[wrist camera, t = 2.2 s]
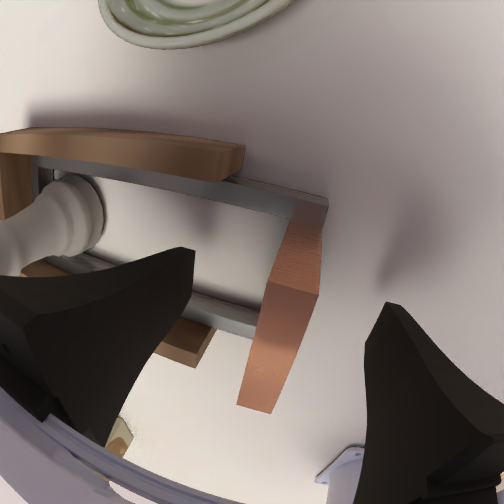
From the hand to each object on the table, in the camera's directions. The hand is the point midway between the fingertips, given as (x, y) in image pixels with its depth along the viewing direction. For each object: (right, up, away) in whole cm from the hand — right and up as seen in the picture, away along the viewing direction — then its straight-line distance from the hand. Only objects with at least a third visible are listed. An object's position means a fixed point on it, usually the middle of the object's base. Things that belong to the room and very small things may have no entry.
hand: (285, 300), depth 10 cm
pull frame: (-6, +3, +3) cm, 8 cm away
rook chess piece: (-11, +4, +4) cm, 12 cm away
